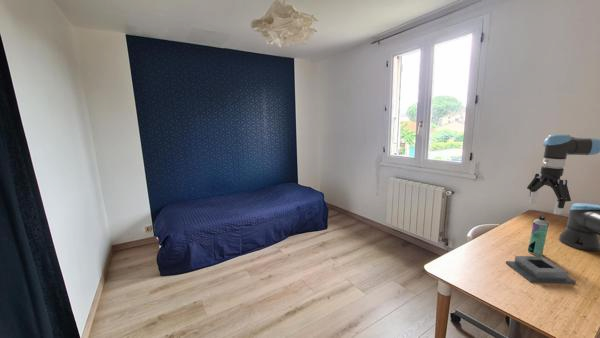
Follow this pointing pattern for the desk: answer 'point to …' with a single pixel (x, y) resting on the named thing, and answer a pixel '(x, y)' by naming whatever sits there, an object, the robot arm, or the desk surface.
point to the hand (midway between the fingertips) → (544, 208)
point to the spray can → (538, 236)
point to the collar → (539, 270)
